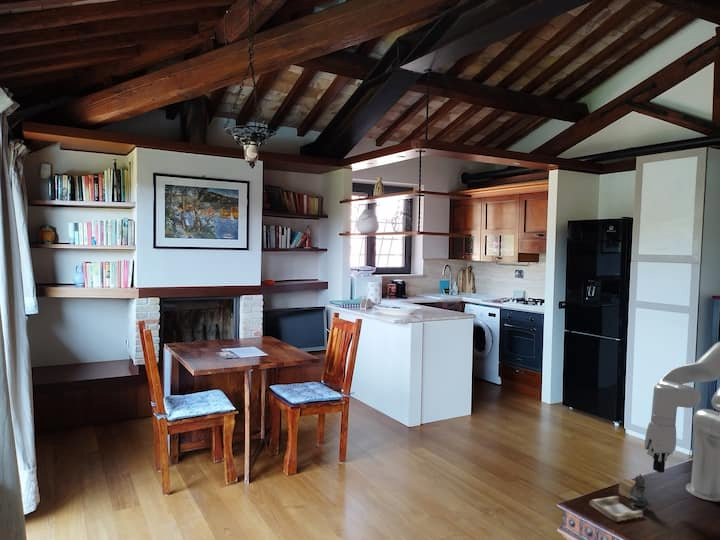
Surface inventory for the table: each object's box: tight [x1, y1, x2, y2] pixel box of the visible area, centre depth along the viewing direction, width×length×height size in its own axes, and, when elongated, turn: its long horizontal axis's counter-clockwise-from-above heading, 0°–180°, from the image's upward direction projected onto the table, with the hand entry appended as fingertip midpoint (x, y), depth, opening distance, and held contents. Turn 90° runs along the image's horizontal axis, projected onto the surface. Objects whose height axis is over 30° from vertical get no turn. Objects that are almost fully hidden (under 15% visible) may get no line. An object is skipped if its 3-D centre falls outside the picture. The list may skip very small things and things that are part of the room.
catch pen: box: [589, 495, 644, 523], centre depth 181 cm, size 12×11×2 cm
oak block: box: [618, 478, 635, 500], centre depth 192 cm, size 5×5×5 cm
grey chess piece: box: [629, 473, 649, 512], centre depth 184 cm, size 6×6×12 cm
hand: (658, 470), depth 186 cm, fingers closed
